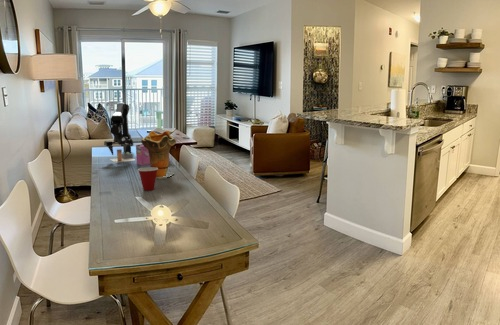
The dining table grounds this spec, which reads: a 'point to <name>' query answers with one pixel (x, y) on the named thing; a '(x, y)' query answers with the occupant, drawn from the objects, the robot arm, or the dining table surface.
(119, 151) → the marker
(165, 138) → the decorative vase
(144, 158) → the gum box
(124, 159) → the square board tray
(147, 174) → the plastic cup
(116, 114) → the robot arm
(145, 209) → the dining table surface
